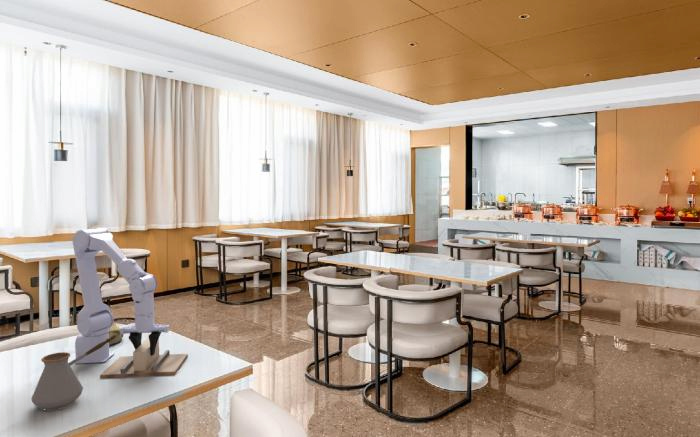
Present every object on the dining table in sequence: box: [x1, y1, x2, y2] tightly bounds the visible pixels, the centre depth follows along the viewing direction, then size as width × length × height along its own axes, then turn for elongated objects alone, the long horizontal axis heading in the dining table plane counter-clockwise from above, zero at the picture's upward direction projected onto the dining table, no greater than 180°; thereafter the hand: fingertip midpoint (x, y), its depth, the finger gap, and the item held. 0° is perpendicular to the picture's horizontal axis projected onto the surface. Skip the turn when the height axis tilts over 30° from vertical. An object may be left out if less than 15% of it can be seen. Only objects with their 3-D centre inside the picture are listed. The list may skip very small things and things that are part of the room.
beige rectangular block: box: [132, 337, 160, 371], centre depth 144 cm, size 4×13×6 cm, turn 6°
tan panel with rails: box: [99, 349, 189, 379], centre depth 143 cm, size 22×15×2 cm
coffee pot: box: [31, 335, 119, 411], centre depth 122 cm, size 21×12×15 cm, turn 137°
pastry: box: [108, 322, 125, 346], centre depth 167 cm, size 14×12×8 cm
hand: (146, 354), depth 143 cm, fingers closed on beige rectangular block, 3 cm apart
